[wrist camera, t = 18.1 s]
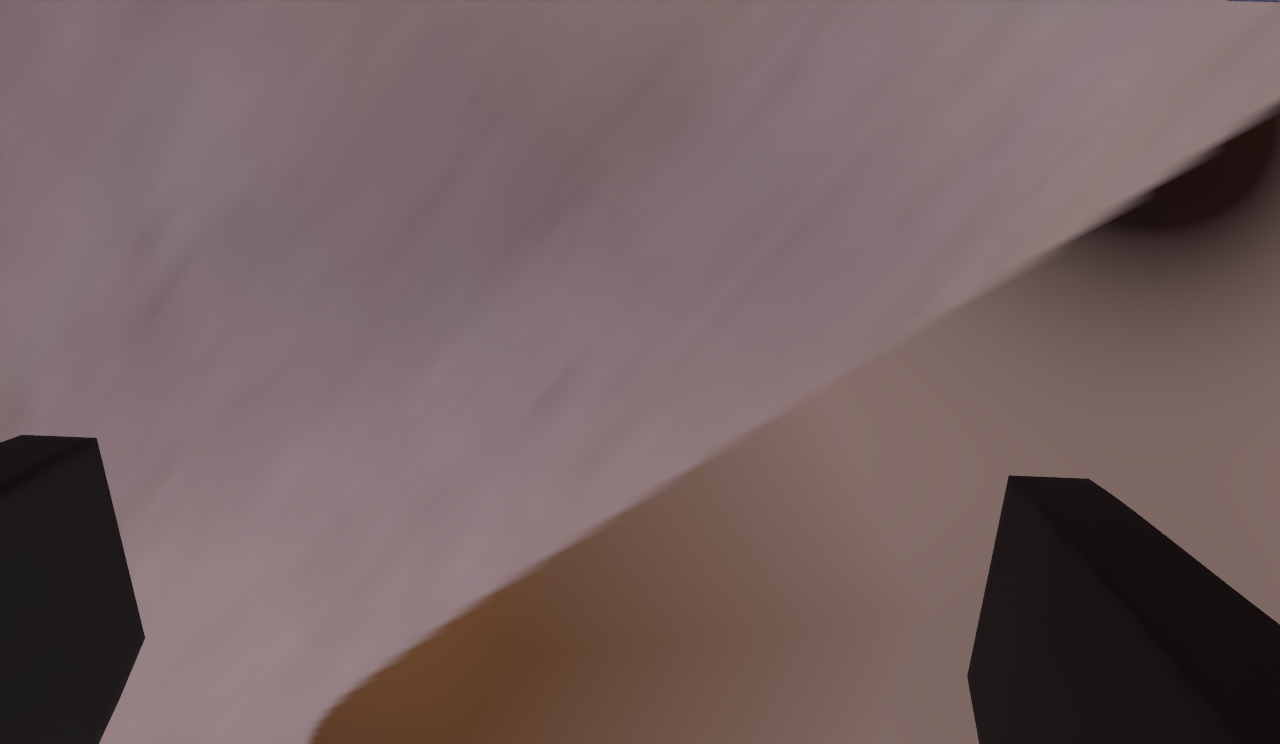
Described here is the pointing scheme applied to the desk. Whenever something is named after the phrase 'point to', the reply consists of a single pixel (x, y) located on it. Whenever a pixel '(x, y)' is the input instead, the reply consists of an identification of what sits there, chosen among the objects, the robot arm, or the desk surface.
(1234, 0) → the crock lid
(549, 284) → the desk surface
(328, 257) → the desk surface
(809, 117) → the desk surface
